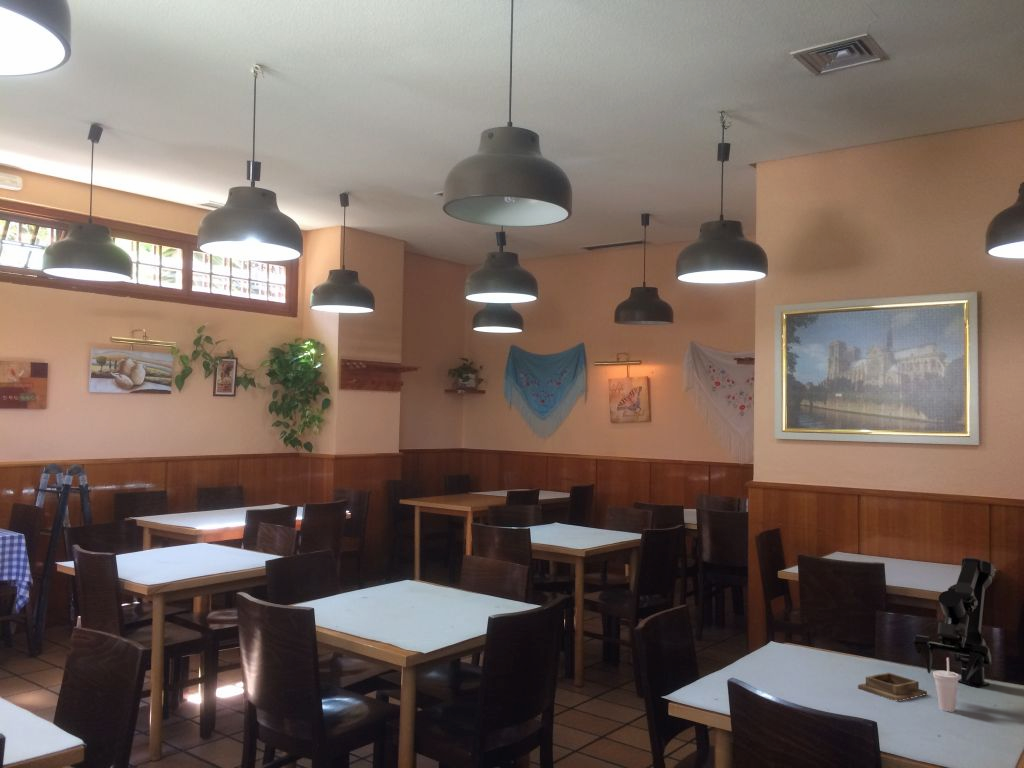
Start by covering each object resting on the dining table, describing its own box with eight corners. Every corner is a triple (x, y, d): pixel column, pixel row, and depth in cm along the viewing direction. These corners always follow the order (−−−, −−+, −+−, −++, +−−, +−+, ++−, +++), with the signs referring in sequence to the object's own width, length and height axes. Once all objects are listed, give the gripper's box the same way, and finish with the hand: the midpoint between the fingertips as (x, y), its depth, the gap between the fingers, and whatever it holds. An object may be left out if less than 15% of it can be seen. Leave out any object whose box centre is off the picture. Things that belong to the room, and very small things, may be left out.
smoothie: (964, 714, 211) (962, 661, 212) (938, 712, 213) (936, 660, 213) (955, 706, 218) (954, 655, 218) (930, 704, 219) (929, 653, 220)
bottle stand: (887, 682, 239) (887, 670, 239) (926, 694, 227) (926, 682, 228) (858, 688, 233) (857, 676, 233) (897, 701, 221) (896, 688, 222)
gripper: (914, 606, 228) (903, 652, 219) (987, 616, 215) (980, 665, 206) (922, 629, 233) (912, 675, 224) (994, 640, 221) (987, 689, 212)
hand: (946, 675), depth 216 cm, fingers open, 9 cm apart
